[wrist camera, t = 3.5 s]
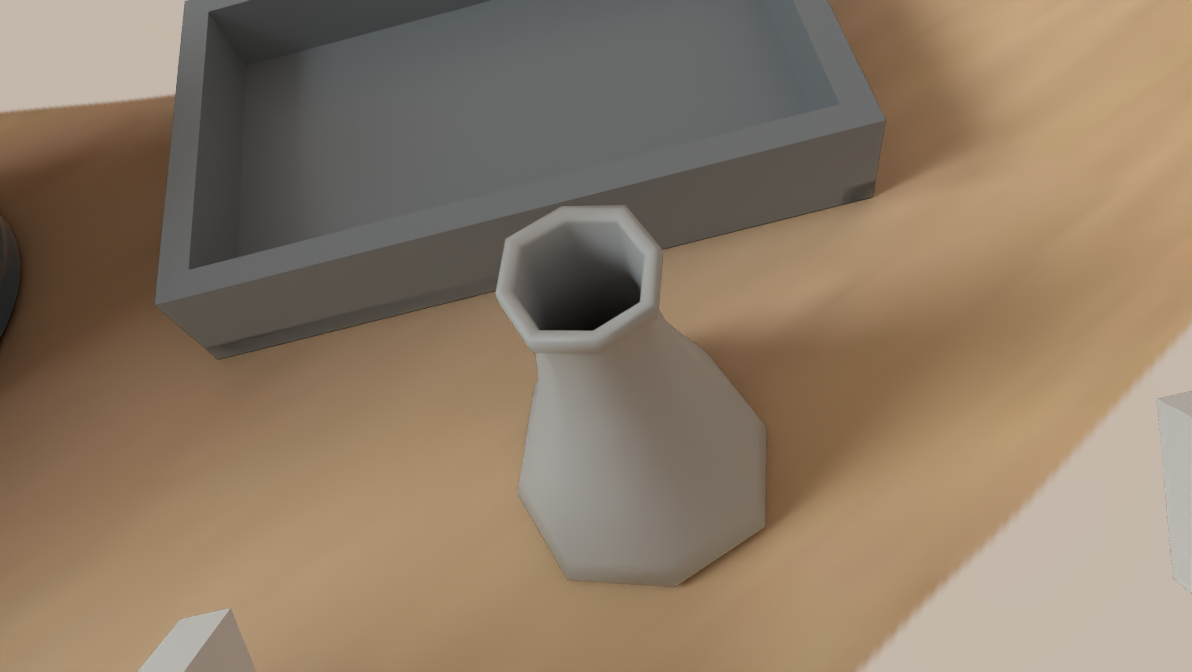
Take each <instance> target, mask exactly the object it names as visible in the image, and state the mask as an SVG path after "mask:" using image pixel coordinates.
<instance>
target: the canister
mask: <svg viewBox="0 0 1192 672" xmlns="http://www.w3.org/2000/svg"><path fill="white" fill-rule="evenodd" d="M19 281H20V254H19V248H18V244H17V241H16V238H15V236H14V233H13V232H12V230H11V228H10V226H9V225H8V223H7V222H6V221H5V220H4V219H3V217H2V216H1V215H0V338H1V335H2V333H3V331H4V329H5V327H6V325H7V323H8V320H9V318H10V315H11V313H12V310H13V307H14V304H15V300H16V296H17V292H18V287H19Z"/></svg>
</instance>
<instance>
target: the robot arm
mask: <svg viewBox="0 0 1192 672" xmlns="http://www.w3.org/2000/svg"><path fill="white" fill-rule="evenodd" d="M1157 408H1158V419H1159V431H1160V442H1161V452H1162V463H1163V475H1164V486H1165V497H1166V508H1167V519H1168V530H1169V541H1170V552H1171V563H1172V574H1173V579H1174V580H1176V581H1177V582H1178V583H1179V584H1180V585H1182V586H1183V587H1184V588H1185V589H1187V590H1188V591H1189V592H1190V593H1192V391H1190V392H1185V393H1180V394H1176V395H1172V396H1167V397H1163V398H1158V399H1157ZM137 672H256V671H255V668H254V666H253V663H252V661H251V658H250V656H249V653H248V651H247V648H246V645H245V643H244V640H243V638H242V635H241V633H240V630H239V628H238V625H237V623H236V620H235V618H234V615H233V612H232V610H231V608H228V609H224V610H219V611H215V612H210V613H206V614H202V615H197V616H193V617H188V618H184V619H180V620H179V621H178V623H177V624H176V625H175V626H174V628H173V629H172V630H171V631H170V632H169V634H168V635H167V636H166V637H165V638H164V640H163V641H162V642H161V643H160V645H159V646H158V647H157V648H156V649H155V651H154V652H153V653H152V654H151V656H150V657H149V658H148V659H147V660H146V662H145V663H144V664H143V665H142V667H141V668H140V669H139V670H138V671H137Z"/></svg>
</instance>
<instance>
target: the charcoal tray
mask: <svg viewBox="0 0 1192 672" xmlns="http://www.w3.org/2000/svg"><path fill="white" fill-rule="evenodd" d="M885 122H886V119H885V117H884V115H883V113H882V111H881V109H880V107H879V105H878V103H877V101H876V99H875V97H874V95H873V93H872V91H871V89H870V86H869V84H868V82H867V80H866V78H865V76H864V74H863V72H862V70H861V68H860V66H859V64H858V62H857V60H856V58H855V56H854V54H853V51H852V49H851V47H850V45H849V43H848V41H847V39H846V37H845V35H844V33H843V31H842V29H841V27H840V25H839V23H838V21H837V19H836V16H835V14H834V12H833V10H832V8H831V6H830V4H829V2H828V0H188V1H185V5H184V16H183V26H182V35H181V45H180V56H179V65H178V75H177V86H176V95H175V105H174V115H173V125H172V135H171V145H170V155H169V165H168V175H167V185H166V195H165V205H164V215H163V225H162V235H161V245H160V255H159V265H158V275H157V285H156V295H155V306H156V307H157V308H159V309H160V310H161V311H162V312H163V313H164V314H166V315H167V316H168V317H169V318H170V319H171V320H173V321H174V322H175V323H176V324H177V325H178V326H180V327H181V328H182V329H183V330H184V331H185V332H187V333H188V334H189V335H190V336H191V337H192V338H194V339H195V340H196V341H197V342H198V343H199V344H201V345H202V346H203V347H204V348H205V349H206V350H208V351H209V352H210V353H211V354H212V355H213V356H215V357H216V358H217V359H222V358H226V357H230V356H234V355H238V354H242V353H246V352H250V351H254V350H258V349H262V348H266V347H270V346H274V345H278V344H282V343H286V342H290V341H295V340H299V339H303V338H307V337H311V336H315V335H319V334H323V333H327V332H331V331H335V330H339V329H343V328H347V327H351V326H355V325H359V324H363V323H367V322H371V321H375V320H379V319H383V318H387V317H391V316H395V315H399V314H403V313H407V312H411V311H415V310H419V309H423V308H427V307H431V306H435V305H440V304H444V303H448V302H452V301H456V300H460V299H464V298H468V297H472V296H476V295H480V294H484V293H488V292H492V291H496V288H497V282H498V277H499V271H500V266H501V261H502V255H503V250H504V244H505V239H506V238H508V237H510V236H511V235H513V234H515V233H516V232H518V231H520V230H522V229H523V228H525V227H527V226H528V225H530V224H532V223H533V222H535V221H537V220H539V219H540V218H542V217H544V216H545V215H547V214H549V213H551V212H552V211H554V210H556V209H557V208H559V207H561V206H596V205H626V206H627V207H628V209H629V210H630V211H631V212H632V213H633V215H634V216H635V217H636V218H637V219H638V221H639V222H640V223H641V224H642V225H643V227H644V228H645V229H646V230H647V231H648V233H649V234H650V235H651V236H652V237H653V239H654V240H655V241H656V242H657V244H658V245H659V246H660V247H661V249H665V248H669V247H673V246H677V245H681V244H685V243H689V242H693V241H697V240H701V239H705V238H709V237H713V236H717V235H721V234H725V233H730V232H734V231H738V230H742V229H746V228H750V227H754V226H758V225H762V224H766V223H770V222H774V221H778V220H782V219H786V218H790V217H794V216H798V215H802V214H806V213H810V212H814V211H818V210H822V209H826V208H830V207H834V206H838V205H842V204H846V203H850V202H854V201H858V200H862V199H866V198H870V197H873V192H874V186H875V180H876V174H877V169H878V163H879V157H880V151H881V145H882V140H883V134H884V128H885Z"/></svg>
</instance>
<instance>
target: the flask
mask: <svg viewBox="0 0 1192 672" xmlns="http://www.w3.org/2000/svg"><path fill="white" fill-rule="evenodd" d="M662 263H663V252H662V249H661V247H660V246H659V245H658V244H657V242H656V241H655V240H654V239H653V237H652V236H651V235H650V234H649V233H648V231H647V230H646V229H645V228H644V227H643V225H642V224H641V223H640V222H639V221H638V219H637V218H636V217H635V216H634V215H633V213H632V212H631V211H630V210H629V209H628V207H627V206H626V205H596V206H561V207H559V208H557V209H556V210H554V211H552V212H551V213H549V214H547V215H545V216H544V217H542V218H540V219H539V220H537V221H535V222H533V223H532V224H530V225H528V226H527V227H525V228H523V229H522V230H520V231H518V232H516V233H515V234H513V235H511V236H510V237H508V238H506V239H505V244H504V250H503V255H502V261H501V266H500V271H499V277H498V282H497V288H496V293H495V296H496V298H497V301H498V302H499V304H500V305H501V307H502V308H503V310H504V312H505V313H506V315H507V316H508V318H509V319H510V321H511V322H512V324H513V325H514V327H515V328H516V330H517V331H518V333H519V334H520V336H521V337H522V339H523V340H524V342H525V343H526V345H527V346H528V348H529V349H530V350H531V351H532V352H533V353H535V354H536V363H537V371H538V379H537V382H536V386H535V389H534V392H533V397H532V402H531V409H530V416H529V422H528V429H527V436H526V442H525V449H524V456H523V462H522V469H521V476H520V482H519V489H518V496H519V498H520V499H521V501H522V503H523V504H524V506H525V508H526V510H527V511H528V513H529V515H530V516H531V518H532V520H533V522H534V523H535V525H536V527H537V529H538V530H539V532H540V534H541V535H542V537H543V539H544V541H545V542H546V544H547V546H548V547H549V549H550V551H551V553H552V554H553V556H554V558H555V559H556V561H557V563H558V565H559V566H560V568H561V570H562V571H563V573H564V575H565V577H566V578H567V580H574V581H590V582H605V583H621V584H636V585H651V586H667V587H676V586H677V585H679V584H680V583H682V582H683V581H685V580H686V579H688V578H689V577H691V576H692V575H694V574H695V573H697V572H698V571H700V570H701V569H703V568H704V567H706V566H707V565H709V564H710V563H712V562H713V561H715V560H716V559H718V558H719V557H721V556H722V555H724V554H725V553H727V552H728V551H730V550H731V549H733V548H734V547H736V546H737V545H739V544H740V543H742V542H743V541H745V540H746V539H748V538H749V537H751V536H752V535H754V534H755V533H757V532H758V531H760V530H761V529H763V528H764V527H766V425H765V424H764V423H763V421H762V420H761V419H760V418H759V416H758V415H757V414H756V413H755V411H754V410H753V409H752V408H751V406H750V405H749V404H748V403H747V401H746V400H745V399H744V398H743V396H742V395H741V394H740V393H739V391H738V390H737V389H736V388H735V386H734V385H733V384H732V383H731V381H730V380H729V379H728V378H727V376H726V375H725V374H724V373H723V371H722V370H721V369H720V368H719V366H718V365H717V364H716V363H715V361H714V360H713V359H712V358H711V356H710V355H709V354H708V353H707V352H706V351H705V350H704V349H702V348H701V347H700V346H699V345H697V344H696V343H694V342H693V341H691V340H690V339H688V338H687V337H686V336H684V335H683V334H681V333H680V332H678V331H677V330H676V329H675V328H674V327H673V326H671V325H670V324H669V323H668V322H667V321H666V320H665V319H664V317H663V315H662V314H661V312H660V310H659V301H660V288H661V275H662Z"/></svg>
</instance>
